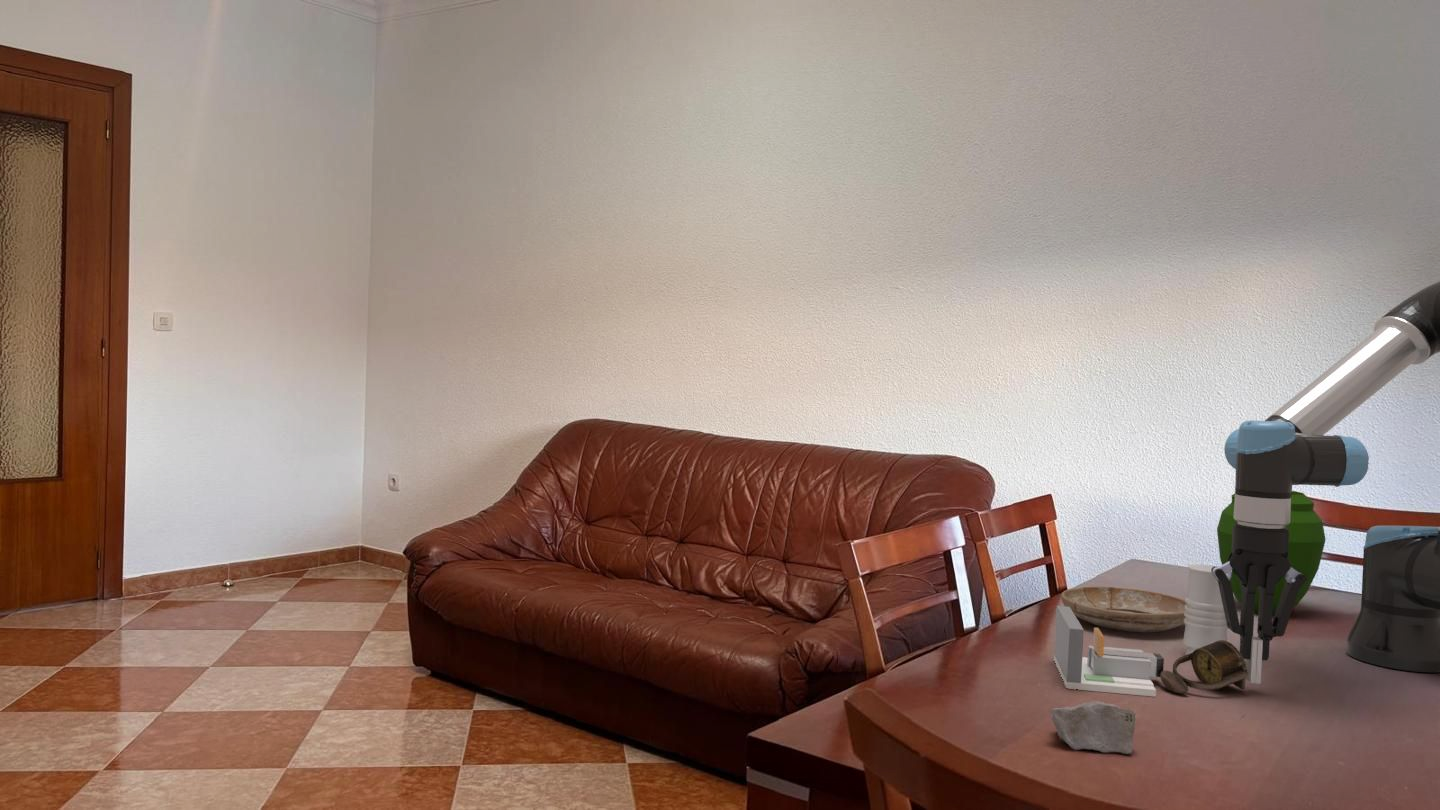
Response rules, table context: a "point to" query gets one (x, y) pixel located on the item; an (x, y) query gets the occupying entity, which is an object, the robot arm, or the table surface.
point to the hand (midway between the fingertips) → (1252, 680)
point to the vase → (1302, 545)
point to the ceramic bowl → (1125, 608)
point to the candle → (1203, 609)
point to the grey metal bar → (1125, 654)
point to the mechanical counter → (1209, 669)
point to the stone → (1096, 727)
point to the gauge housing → (1097, 663)
